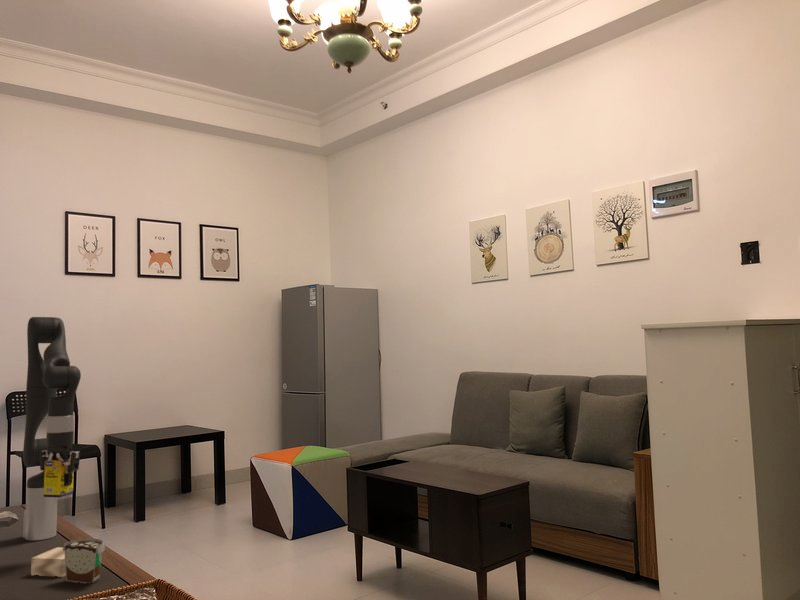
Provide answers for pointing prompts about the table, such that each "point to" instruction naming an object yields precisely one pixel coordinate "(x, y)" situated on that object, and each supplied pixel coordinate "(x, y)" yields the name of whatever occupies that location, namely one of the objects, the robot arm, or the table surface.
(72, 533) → the table surface
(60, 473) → the supplement box
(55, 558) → the birch block
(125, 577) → the table surface
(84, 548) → the food container
